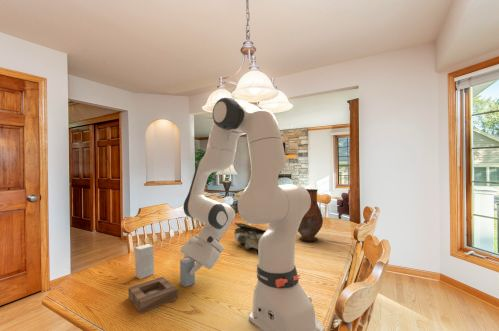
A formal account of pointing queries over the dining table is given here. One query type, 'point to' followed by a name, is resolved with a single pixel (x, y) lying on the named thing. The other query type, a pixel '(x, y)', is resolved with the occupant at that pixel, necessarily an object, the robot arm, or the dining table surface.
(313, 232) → the brown vase
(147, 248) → the skincare box
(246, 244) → the hollow geode rock
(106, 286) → the dining table surface
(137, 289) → the socket block
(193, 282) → the post
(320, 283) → the dining table surface
